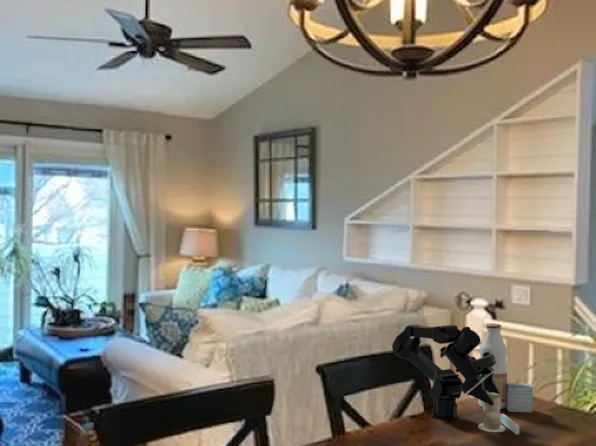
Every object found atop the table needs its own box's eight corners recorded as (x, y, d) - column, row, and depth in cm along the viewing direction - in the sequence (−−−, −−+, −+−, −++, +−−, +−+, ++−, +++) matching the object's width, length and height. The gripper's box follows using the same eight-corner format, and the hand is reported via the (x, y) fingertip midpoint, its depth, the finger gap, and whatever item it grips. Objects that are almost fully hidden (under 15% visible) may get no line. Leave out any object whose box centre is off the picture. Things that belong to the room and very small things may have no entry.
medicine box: (529, 409, 225) (530, 383, 225) (532, 413, 221) (533, 387, 221) (505, 408, 226) (506, 382, 226) (508, 412, 222) (508, 386, 222)
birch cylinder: (480, 427, 204) (480, 394, 204) (487, 423, 208) (487, 391, 208) (495, 430, 201) (496, 397, 201) (502, 426, 205) (503, 394, 205)
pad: (473, 428, 204) (473, 427, 204) (484, 422, 210) (484, 421, 210) (498, 434, 199) (498, 433, 199) (509, 427, 205) (509, 426, 205)
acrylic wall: (500, 421, 211) (500, 413, 211) (503, 421, 211) (503, 413, 211) (515, 434, 199) (516, 426, 199) (519, 434, 199) (519, 426, 199)
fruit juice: (491, 411, 222) (493, 327, 222) (472, 403, 231) (473, 323, 230) (512, 407, 227) (514, 325, 226) (492, 400, 235) (494, 321, 235)
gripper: (471, 349, 198) (509, 392, 193) (487, 339, 214) (522, 378, 209) (445, 372, 202) (481, 414, 197) (463, 361, 218) (496, 399, 213)
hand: (496, 401), depth 204 cm, fingers open, 9 cm apart
